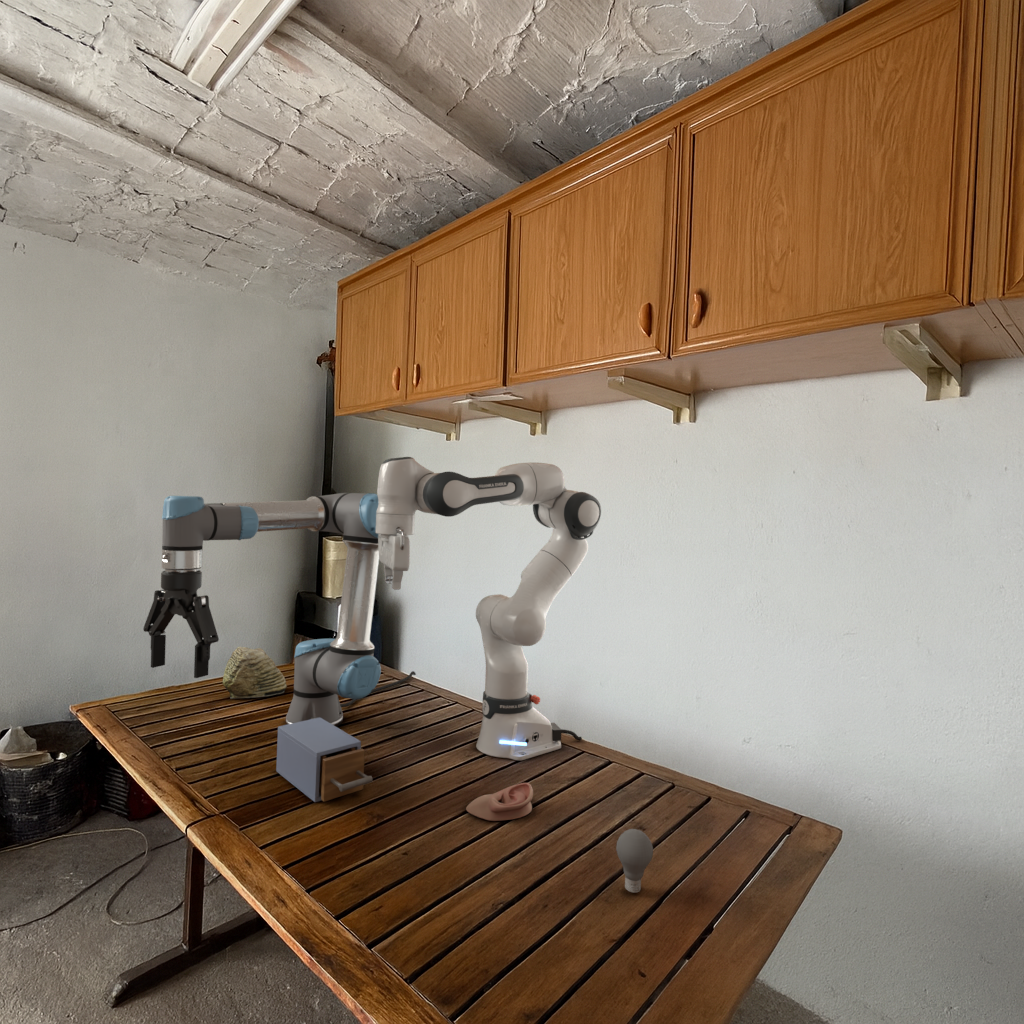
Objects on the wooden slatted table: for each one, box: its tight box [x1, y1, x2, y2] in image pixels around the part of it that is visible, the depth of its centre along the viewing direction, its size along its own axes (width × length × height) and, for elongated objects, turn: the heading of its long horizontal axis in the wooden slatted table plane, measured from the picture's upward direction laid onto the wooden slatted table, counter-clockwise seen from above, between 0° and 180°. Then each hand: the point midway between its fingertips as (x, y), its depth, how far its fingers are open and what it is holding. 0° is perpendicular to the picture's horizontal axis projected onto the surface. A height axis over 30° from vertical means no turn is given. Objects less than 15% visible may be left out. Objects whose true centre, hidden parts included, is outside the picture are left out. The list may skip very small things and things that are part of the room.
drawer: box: [319, 747, 373, 803], centre depth 137 cm, size 23×9×8 cm, turn 44°
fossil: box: [222, 646, 288, 699], centre depth 198 cm, size 9×18×15 cm, turn 132°
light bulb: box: [615, 828, 654, 894], centre depth 106 cm, size 6×6×10 cm
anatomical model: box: [465, 782, 534, 822], centre depth 132 cm, size 13×4×12 cm
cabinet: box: [275, 717, 362, 803], centre depth 142 cm, size 19×10×10 cm, turn 44°
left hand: (179, 671), depth 132 cm, fingers open, 13 cm apart
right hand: (392, 586), depth 146 cm, fingers open, 8 cm apart
